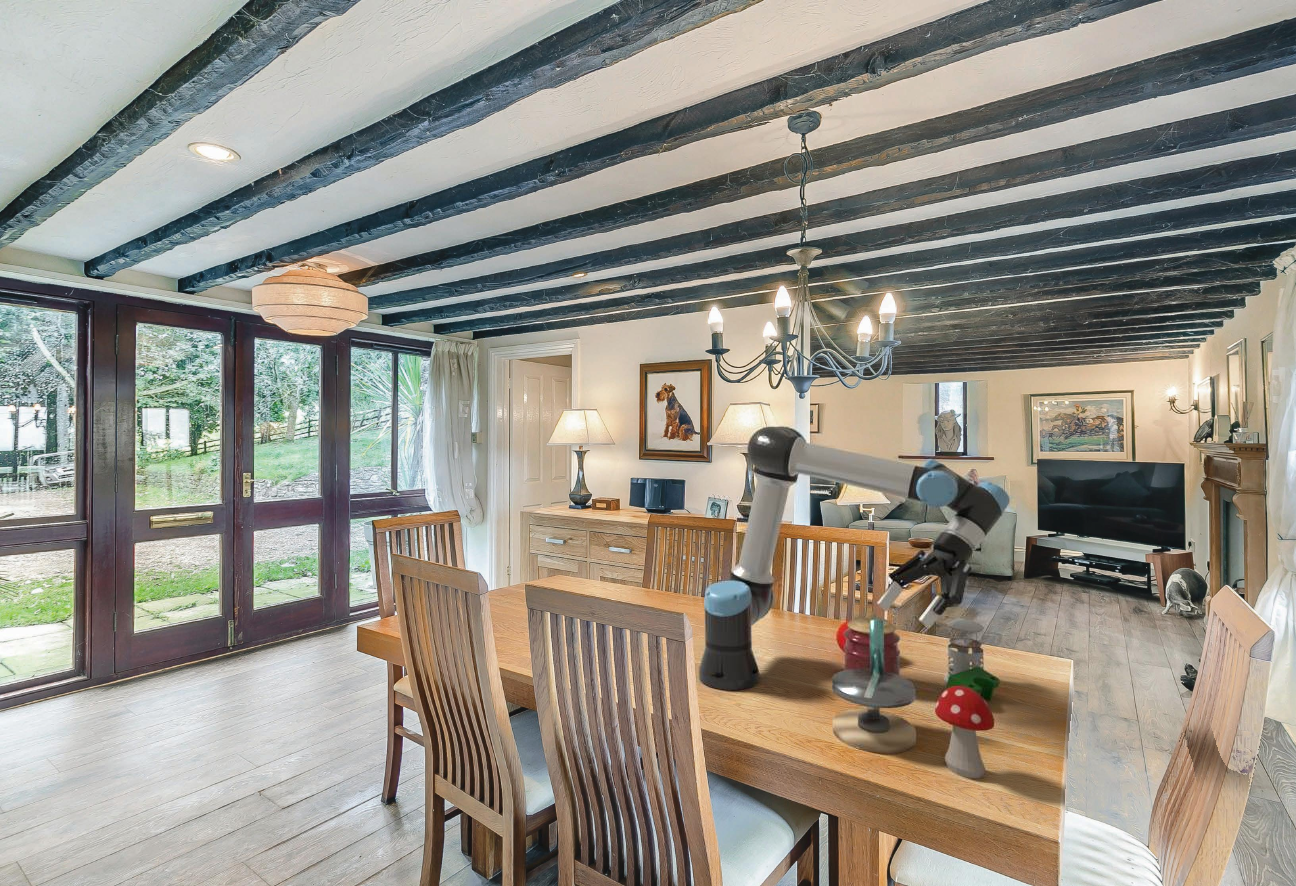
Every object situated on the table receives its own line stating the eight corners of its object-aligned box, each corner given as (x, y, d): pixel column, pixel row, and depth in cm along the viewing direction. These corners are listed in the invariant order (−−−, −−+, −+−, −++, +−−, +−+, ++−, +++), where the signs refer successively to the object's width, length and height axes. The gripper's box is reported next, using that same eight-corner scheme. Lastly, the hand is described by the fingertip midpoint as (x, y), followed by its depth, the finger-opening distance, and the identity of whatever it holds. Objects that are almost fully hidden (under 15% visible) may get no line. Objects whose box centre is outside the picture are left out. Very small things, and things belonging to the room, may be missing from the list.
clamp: (969, 724, 138) (968, 695, 134) (945, 708, 143) (943, 680, 139) (1002, 695, 143) (1002, 666, 139) (978, 680, 148) (977, 652, 144)
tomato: (885, 668, 160) (884, 628, 160) (835, 663, 164) (835, 624, 164) (883, 651, 173) (882, 614, 173) (837, 647, 177) (836, 610, 177)
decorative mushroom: (925, 765, 113) (924, 683, 113) (952, 751, 118) (951, 673, 118) (978, 790, 105) (977, 703, 105) (1005, 775, 109) (1004, 691, 109)
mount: (817, 722, 131) (817, 707, 131) (881, 711, 135) (881, 697, 135) (864, 759, 116) (864, 743, 116) (934, 745, 120) (934, 730, 120)
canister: (871, 697, 143) (870, 622, 143) (833, 678, 155) (832, 608, 154) (912, 688, 148) (911, 614, 148) (873, 669, 160) (872, 602, 160)
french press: (938, 681, 151) (936, 580, 151) (953, 668, 160) (951, 572, 160) (982, 692, 145) (980, 586, 144) (995, 678, 153) (994, 577, 153)
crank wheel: (913, 743, 115) (911, 646, 115) (825, 726, 122) (824, 635, 122) (918, 708, 129) (917, 622, 129) (840, 694, 137) (839, 614, 137)
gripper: (1014, 563, 126) (955, 644, 122) (928, 544, 150) (876, 611, 146) (993, 539, 125) (932, 620, 121) (909, 523, 149) (856, 590, 145)
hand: (901, 615), depth 133 cm, fingers open, 13 cm apart
